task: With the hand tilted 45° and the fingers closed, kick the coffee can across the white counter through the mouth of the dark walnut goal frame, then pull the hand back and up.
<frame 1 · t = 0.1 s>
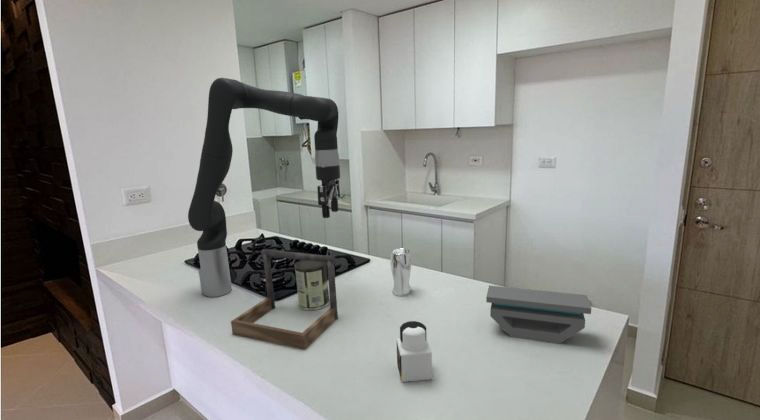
hand: (330, 214, 126), 29 cm above the counter, tool pointing down, fingers open, 8 cm apart
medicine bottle: (414, 372, 92), on the counter
coffee can: (314, 303, 130), on the counter
beer glass: (401, 293, 135), on the counter
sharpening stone: (534, 333, 107), on the counter
goal frame: (287, 325, 116), on the counter
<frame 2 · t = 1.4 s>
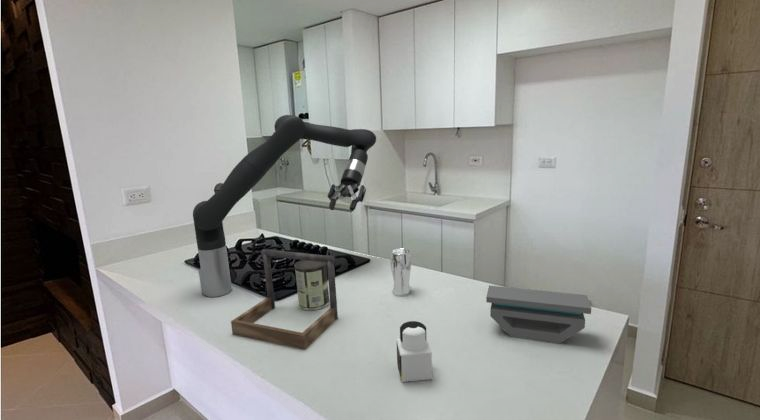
hand: (341, 209, 144), 27 cm above the counter, tool tilted 45°, fingers open, 8 cm apart
nothing on the counter moved.
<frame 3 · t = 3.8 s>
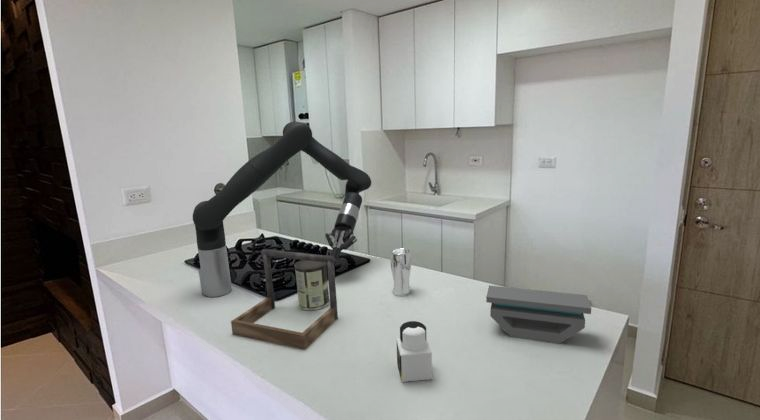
hand: (334, 258, 142), 10 cm above the counter, tool tilted 45°, fingers closed
nothing on the counter moved.
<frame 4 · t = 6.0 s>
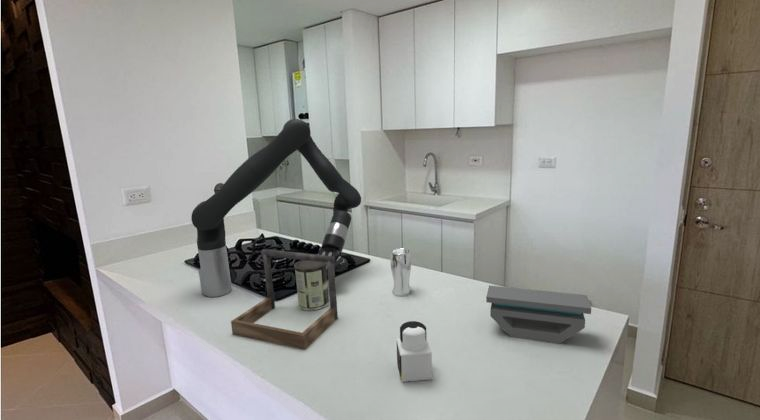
hand: (320, 282, 133), 5 cm above the counter, tool tilted 45°, fingers closed
coffee can: (313, 304, 130), on the counter, touching gripper
everything else where it was.
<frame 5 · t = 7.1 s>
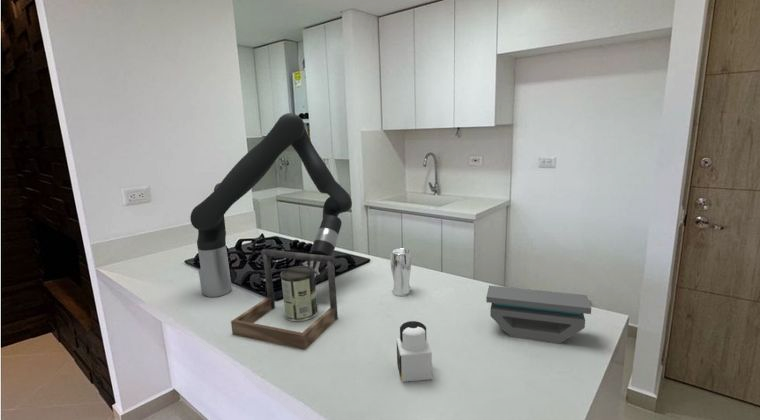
hand: (308, 291, 126), 5 cm above the counter, tool tilted 45°, fingers closed
coffee can: (301, 314, 123), on the counter, touching gripper
everything else where it was.
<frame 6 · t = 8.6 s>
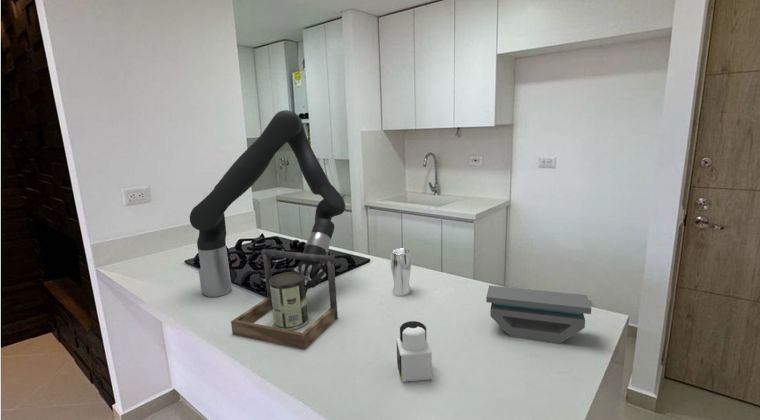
hand: (299, 298, 122), 5 cm above the counter, tool tilted 45°, fingers closed
coffee can: (291, 322, 118), on the counter, touching gripper
everything else where it was.
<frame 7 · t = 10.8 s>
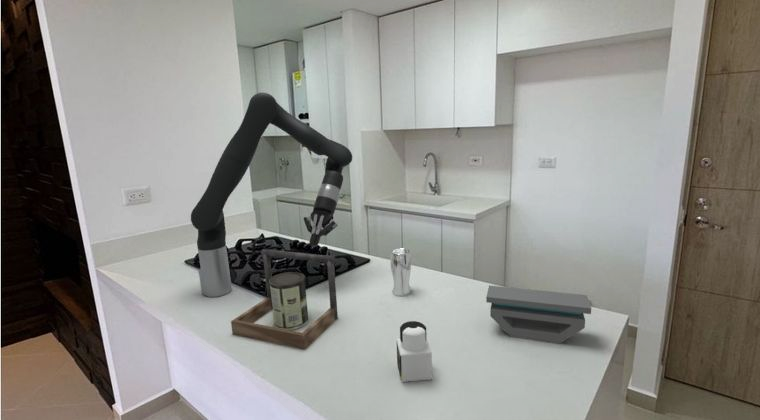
hand: (313, 245, 134), 17 cm above the counter, tool tilted 35°, fingers closed
coffee can: (291, 322, 118), on the counter
everything else where it was.
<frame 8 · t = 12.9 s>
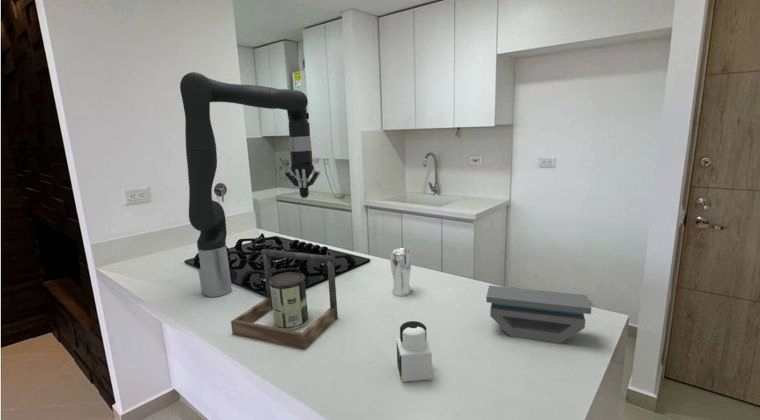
hand: (304, 197, 143), 32 cm above the counter, tool pointing down, fingers closed
nothing on the counter moved.
at the end: coffee can inside the target area on the goal frame (2.2 cm from its centre), point 0.0 cm above the goal frame's base; coffee can tilted 0° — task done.
